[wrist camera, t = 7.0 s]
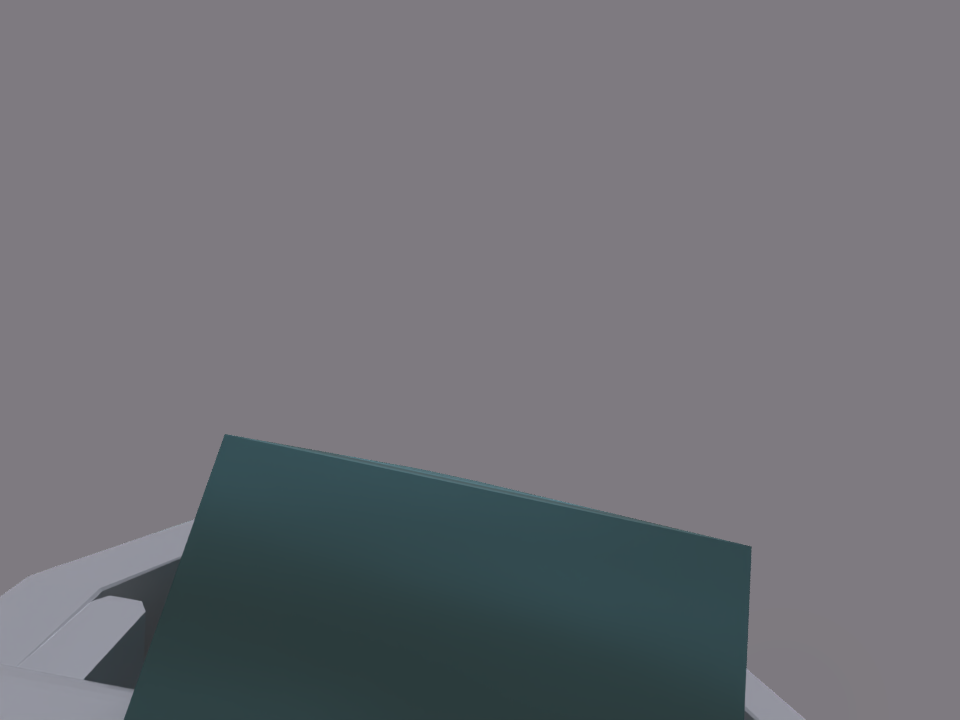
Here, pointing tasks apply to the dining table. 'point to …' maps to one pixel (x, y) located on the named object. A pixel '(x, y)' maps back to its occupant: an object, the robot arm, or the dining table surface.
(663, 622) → the teal block
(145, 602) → the robot arm
